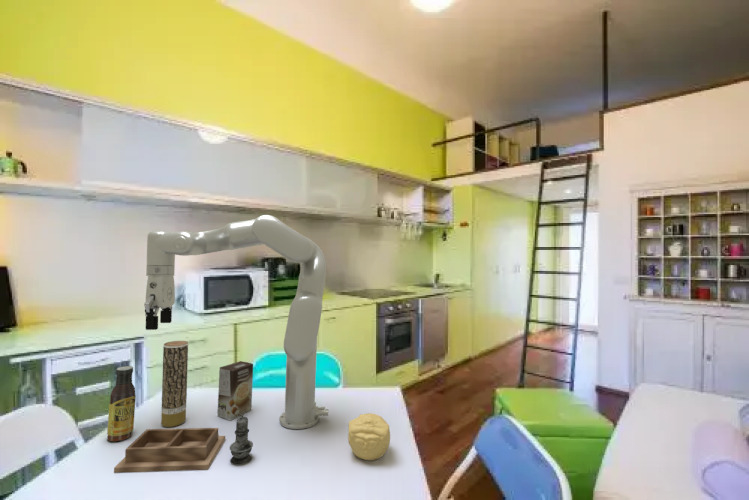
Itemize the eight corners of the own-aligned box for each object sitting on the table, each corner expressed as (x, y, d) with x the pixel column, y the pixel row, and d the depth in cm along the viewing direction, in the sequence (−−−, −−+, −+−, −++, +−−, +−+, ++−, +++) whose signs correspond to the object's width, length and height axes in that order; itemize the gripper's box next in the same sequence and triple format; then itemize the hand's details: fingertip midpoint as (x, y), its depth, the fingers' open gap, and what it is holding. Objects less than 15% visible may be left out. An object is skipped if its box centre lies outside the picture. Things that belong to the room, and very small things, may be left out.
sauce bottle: (112, 445, 99) (115, 373, 99) (102, 438, 102) (105, 369, 102) (138, 435, 104) (140, 367, 104) (128, 429, 107) (130, 363, 107)
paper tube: (190, 418, 115) (192, 341, 115) (176, 428, 108) (179, 346, 108) (170, 416, 116) (173, 340, 116) (155, 427, 109) (158, 345, 109)
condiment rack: (225, 439, 103) (225, 424, 103) (207, 469, 89) (208, 451, 89) (144, 441, 101) (145, 425, 101) (113, 472, 87) (114, 454, 87)
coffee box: (230, 421, 114) (232, 371, 114) (216, 416, 117) (218, 367, 117) (252, 410, 122) (253, 363, 123) (238, 405, 125) (240, 360, 125)
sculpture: (343, 463, 93) (345, 422, 93) (353, 440, 105) (354, 403, 105) (387, 468, 92) (388, 427, 92) (391, 444, 104) (392, 407, 104)
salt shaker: (233, 453, 97) (234, 408, 97) (255, 452, 97) (256, 408, 97) (225, 466, 91) (227, 419, 91) (249, 465, 91) (250, 419, 91)
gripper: (161, 273, 103) (159, 332, 103) (184, 269, 120) (182, 320, 120) (133, 272, 102) (131, 332, 102) (160, 269, 119) (158, 320, 119)
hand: (159, 326), depth 111 cm, fingers open, 9 cm apart
